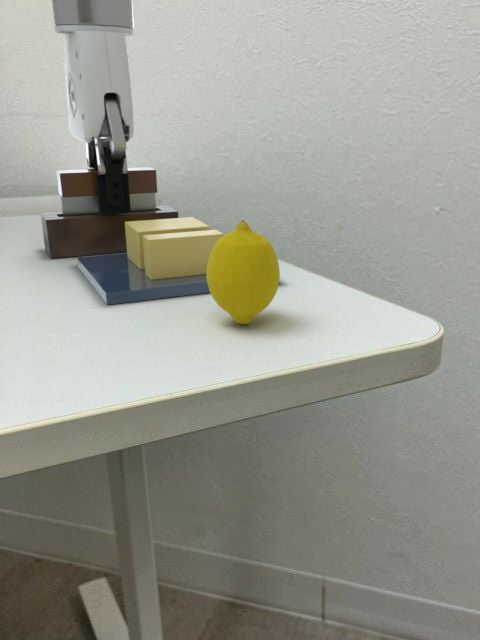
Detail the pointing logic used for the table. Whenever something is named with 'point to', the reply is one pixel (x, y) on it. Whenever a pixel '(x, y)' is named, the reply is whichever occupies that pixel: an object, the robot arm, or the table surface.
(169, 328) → the table surface
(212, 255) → the fruit
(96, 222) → the scraper holder
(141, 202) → the scraper
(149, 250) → the butter slice
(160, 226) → the butter block
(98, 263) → the butter dish
